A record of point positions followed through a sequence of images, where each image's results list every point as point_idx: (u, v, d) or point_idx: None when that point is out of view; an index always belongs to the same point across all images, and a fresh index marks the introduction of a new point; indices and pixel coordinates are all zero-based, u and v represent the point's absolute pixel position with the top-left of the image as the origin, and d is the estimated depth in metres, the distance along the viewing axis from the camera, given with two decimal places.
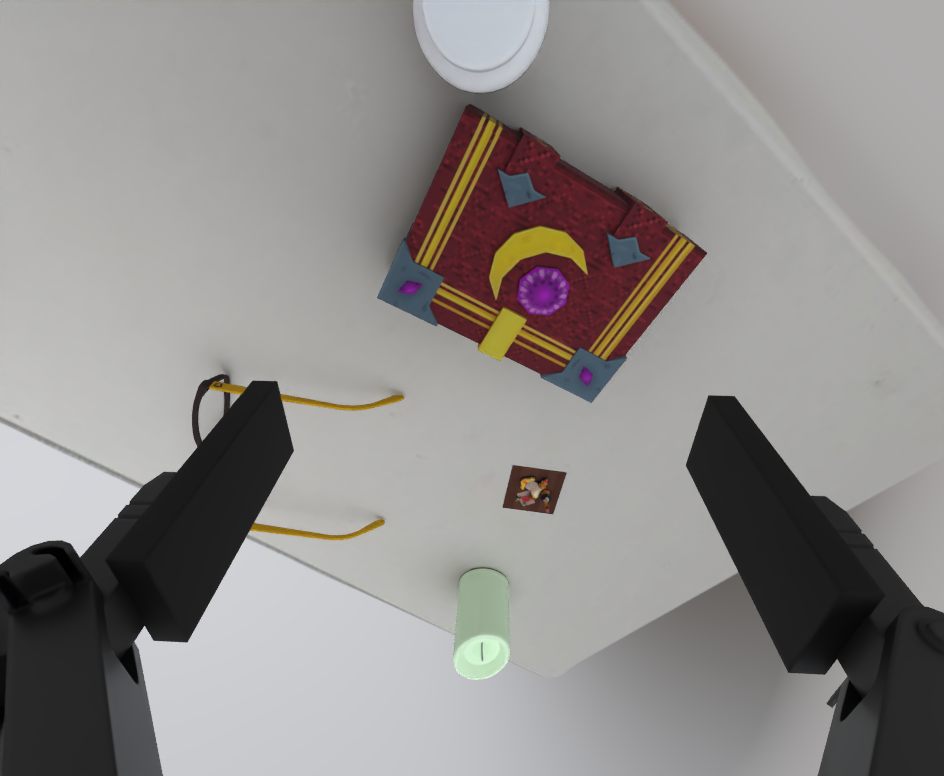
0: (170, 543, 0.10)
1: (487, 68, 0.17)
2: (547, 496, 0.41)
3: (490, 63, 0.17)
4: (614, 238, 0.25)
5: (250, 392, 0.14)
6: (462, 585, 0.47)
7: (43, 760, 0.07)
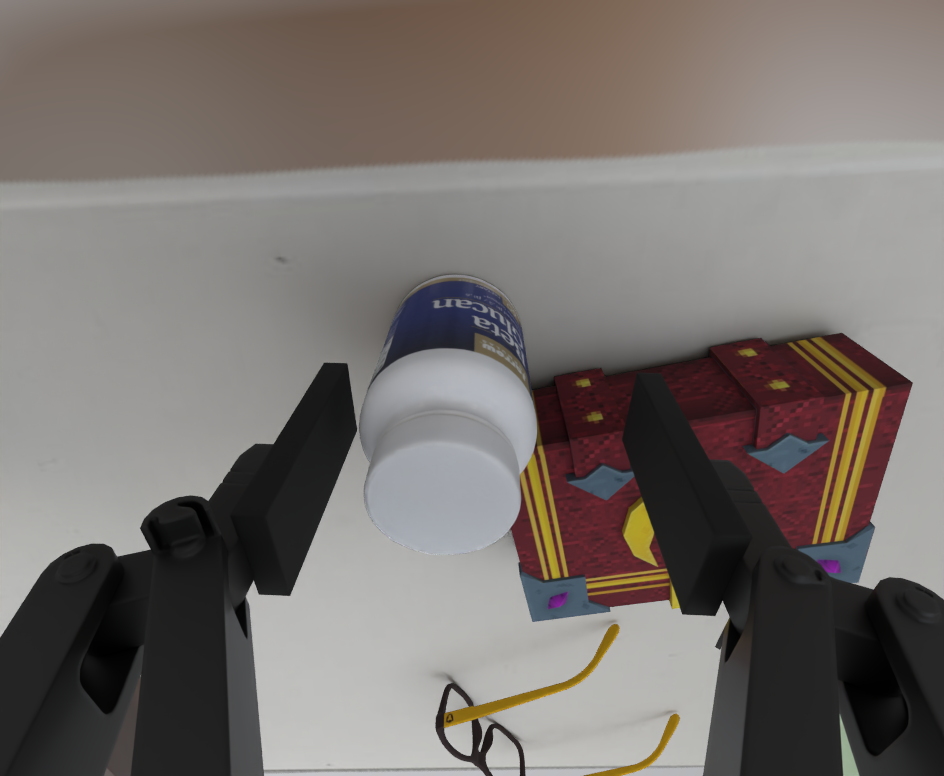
0: (280, 502, 0.11)
1: (500, 537, 0.13)
2: None
3: (500, 534, 0.13)
4: (760, 452, 0.17)
5: (324, 373, 0.15)
6: None
7: (171, 695, 0.07)
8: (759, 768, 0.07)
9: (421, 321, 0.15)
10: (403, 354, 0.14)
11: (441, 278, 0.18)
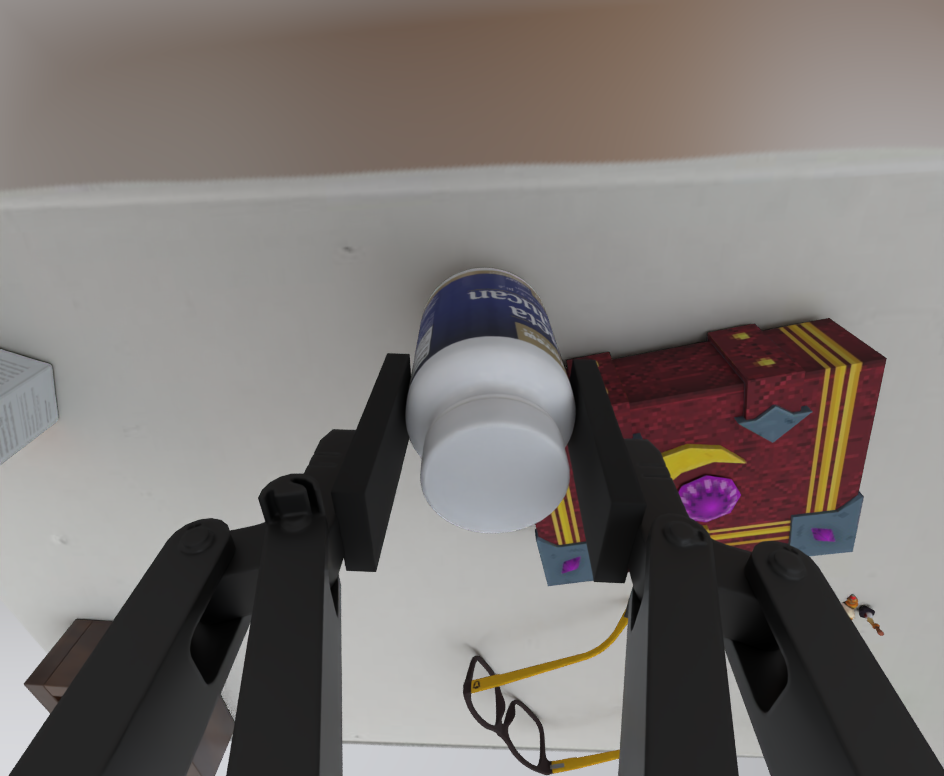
0: (372, 482, 0.11)
1: (547, 515, 0.13)
2: (867, 611, 0.32)
3: (548, 512, 0.13)
4: (749, 422, 0.20)
5: (389, 363, 0.16)
6: None
7: (272, 661, 0.08)
8: (662, 730, 0.07)
9: (461, 311, 0.16)
10: (449, 342, 0.14)
11: (471, 271, 0.19)
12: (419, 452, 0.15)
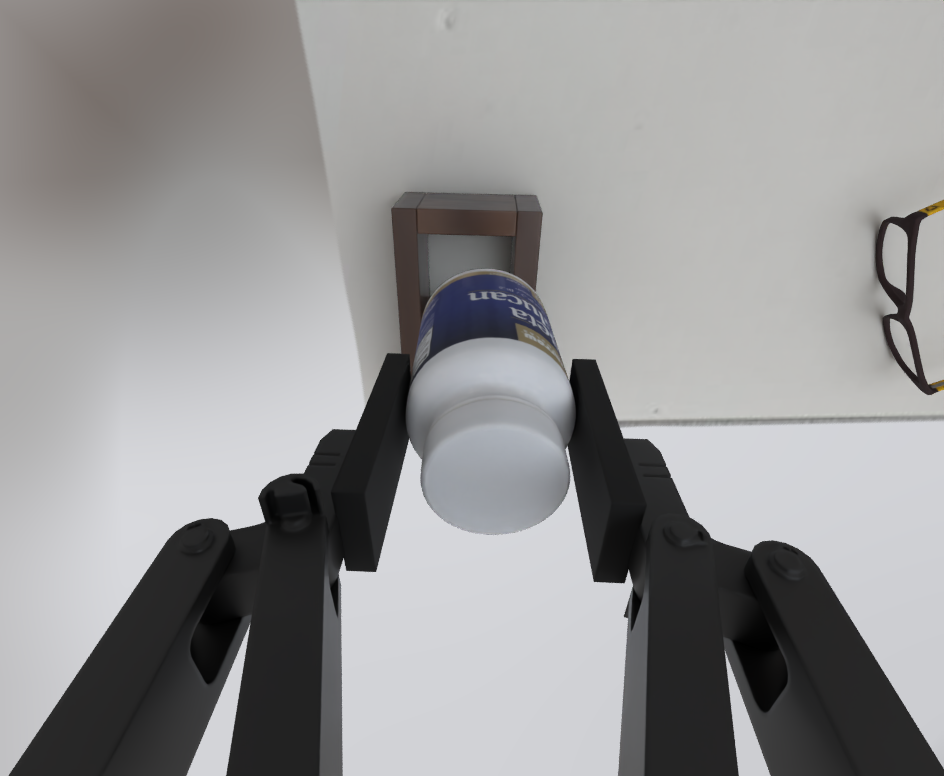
0: (372, 482, 0.11)
1: (548, 516, 0.13)
2: None
3: (548, 513, 0.13)
4: None
5: (389, 363, 0.16)
6: None
7: (272, 661, 0.08)
8: (662, 730, 0.07)
9: (461, 313, 0.16)
10: (449, 343, 0.14)
11: (471, 272, 0.19)
12: (419, 453, 0.15)
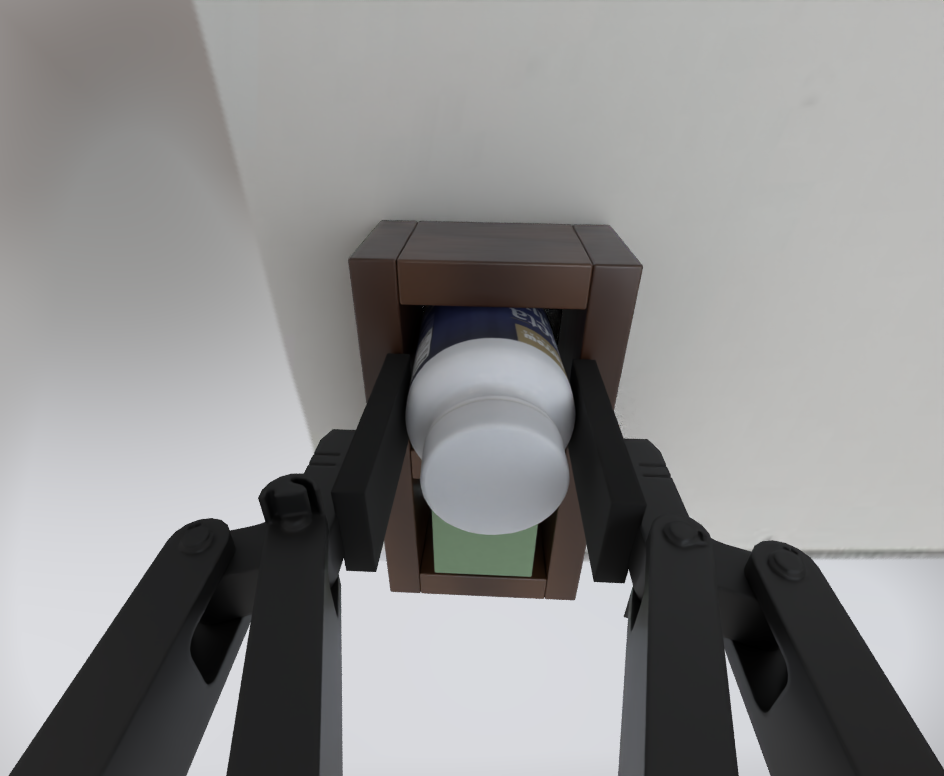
0: (372, 482, 0.11)
1: (547, 516, 0.13)
2: None
3: (547, 513, 0.13)
4: None
5: (389, 363, 0.16)
6: None
7: (272, 661, 0.08)
8: (662, 730, 0.07)
9: (461, 313, 0.16)
10: (449, 344, 0.14)
11: None
12: (419, 453, 0.15)
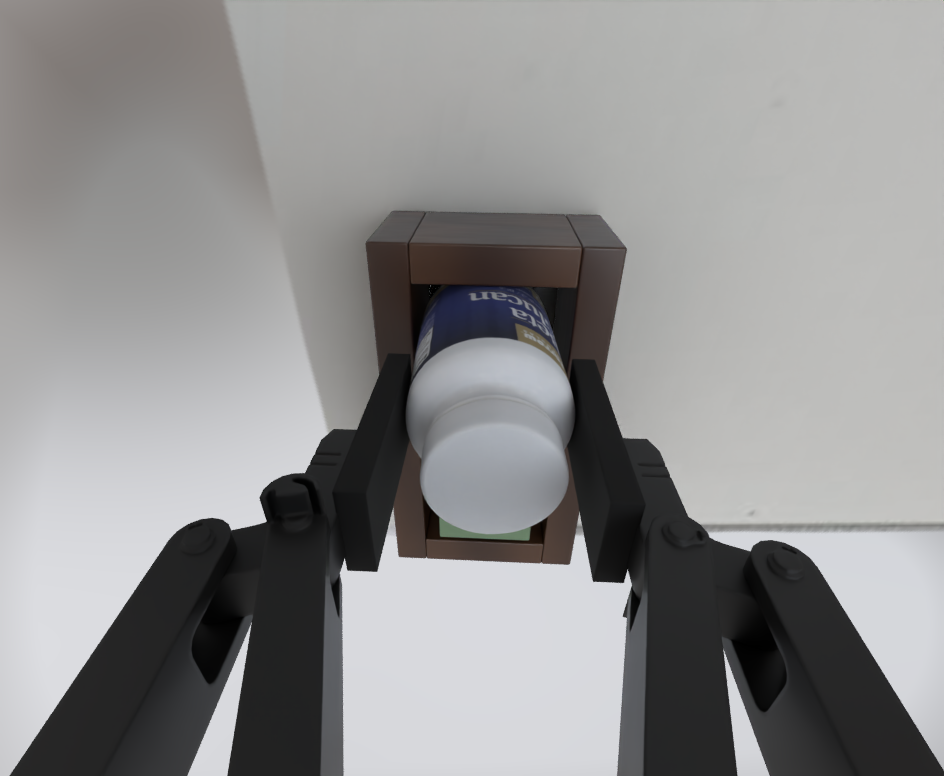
0: (373, 482, 0.11)
1: (546, 516, 0.13)
2: None
3: (547, 513, 0.13)
4: None
5: (390, 363, 0.16)
6: None
7: (273, 661, 0.08)
8: (661, 730, 0.07)
9: (461, 313, 0.16)
10: (449, 343, 0.14)
11: None
12: (419, 453, 0.15)
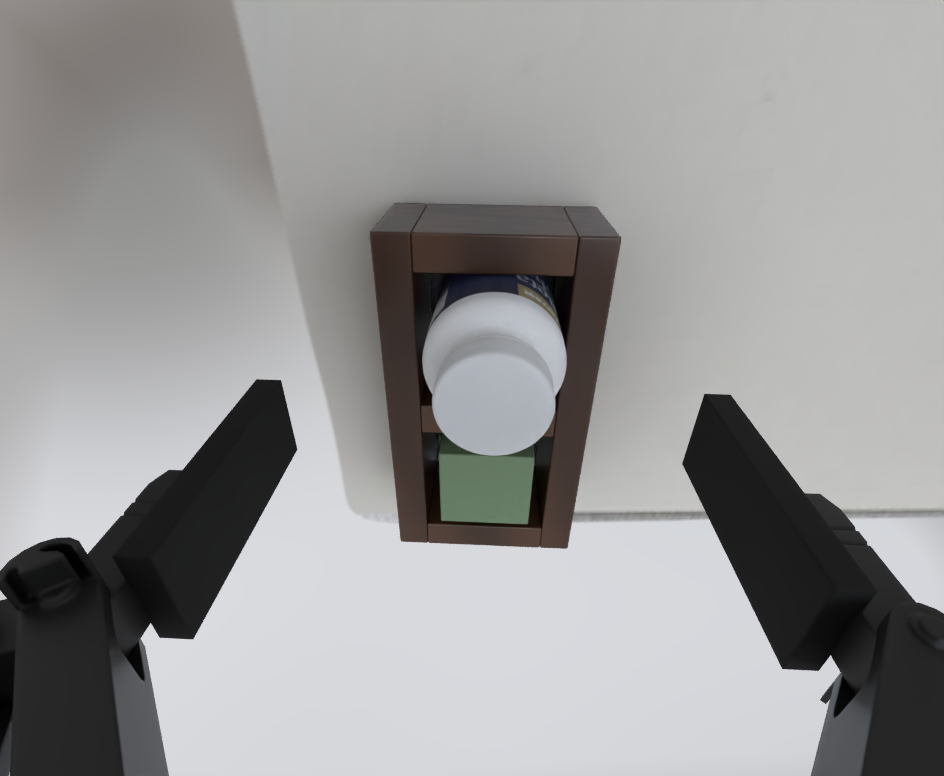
0: (176, 540, 0.10)
1: (537, 440, 0.16)
2: None
3: (537, 437, 0.16)
4: None
5: (253, 391, 0.14)
6: None
7: (50, 755, 0.07)
8: None
9: (473, 275, 0.19)
10: (461, 296, 0.17)
11: None
12: (433, 391, 0.18)
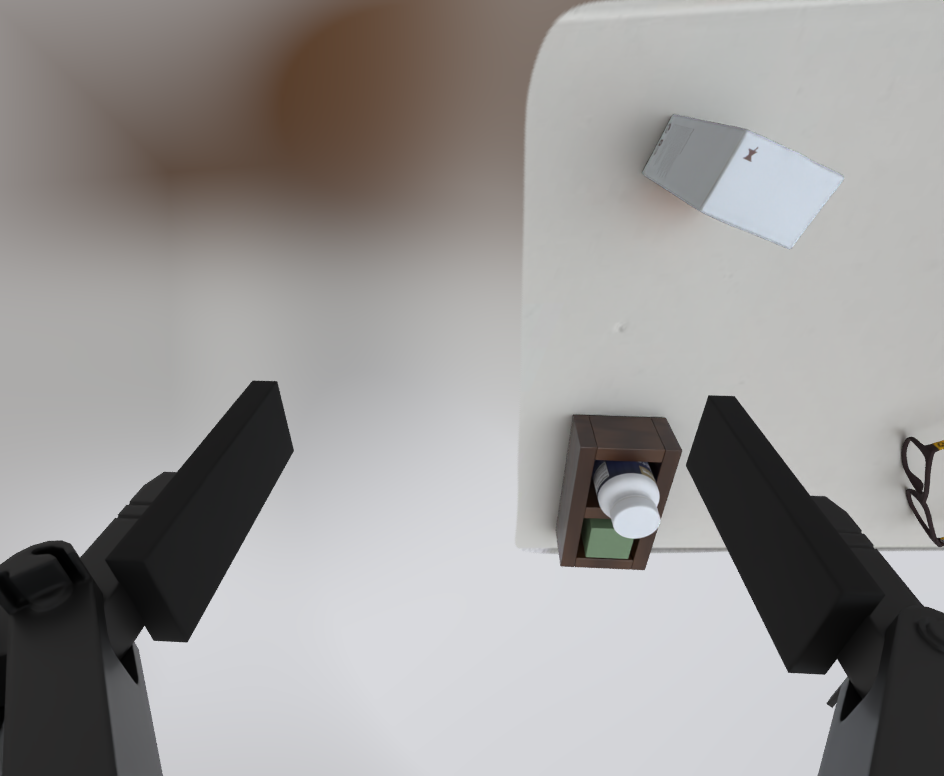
0: (170, 543, 0.10)
1: (651, 533, 0.42)
2: None
3: (651, 532, 0.42)
4: None
5: (249, 392, 0.14)
6: None
7: (43, 760, 0.07)
8: None
9: None
10: (618, 473, 0.43)
11: None
12: (603, 509, 0.44)
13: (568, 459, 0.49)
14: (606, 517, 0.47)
